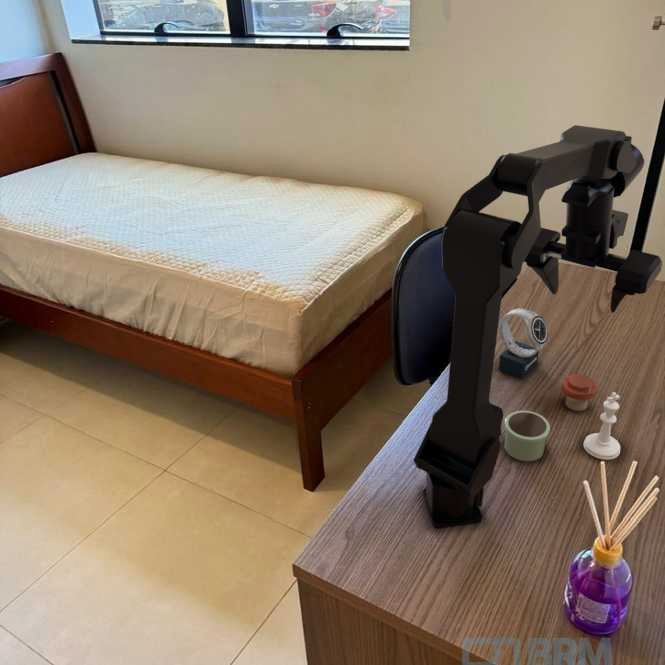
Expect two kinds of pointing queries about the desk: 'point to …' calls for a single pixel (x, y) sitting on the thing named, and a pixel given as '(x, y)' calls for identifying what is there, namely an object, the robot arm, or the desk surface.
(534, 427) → the pot
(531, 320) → the watch
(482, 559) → the desk surface
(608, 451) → the chess piece
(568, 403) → the mushroom
